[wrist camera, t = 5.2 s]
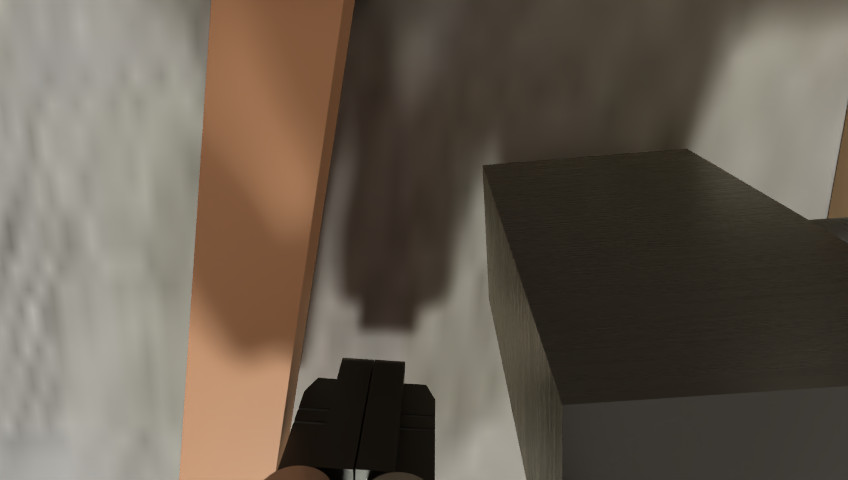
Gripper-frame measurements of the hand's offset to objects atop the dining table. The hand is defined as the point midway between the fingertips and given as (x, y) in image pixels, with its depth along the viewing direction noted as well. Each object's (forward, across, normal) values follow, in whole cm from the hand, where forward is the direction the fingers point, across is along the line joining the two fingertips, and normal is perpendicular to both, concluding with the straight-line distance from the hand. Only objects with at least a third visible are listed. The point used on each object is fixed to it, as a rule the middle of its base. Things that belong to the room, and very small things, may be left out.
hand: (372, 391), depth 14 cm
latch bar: (0, +2, -5) cm, 6 cm away
